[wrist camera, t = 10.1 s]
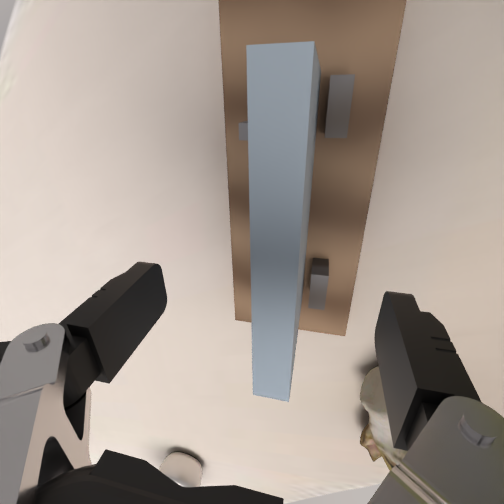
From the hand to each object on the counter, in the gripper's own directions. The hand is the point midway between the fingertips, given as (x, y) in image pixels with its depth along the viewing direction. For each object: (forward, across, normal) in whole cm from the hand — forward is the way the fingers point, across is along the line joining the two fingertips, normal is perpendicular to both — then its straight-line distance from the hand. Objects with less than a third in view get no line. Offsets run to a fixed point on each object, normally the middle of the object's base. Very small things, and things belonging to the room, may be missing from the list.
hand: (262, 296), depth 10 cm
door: (+12, 0, 0) cm, 12 cm away
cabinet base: (+14, 0, 0) cm, 14 cm away
